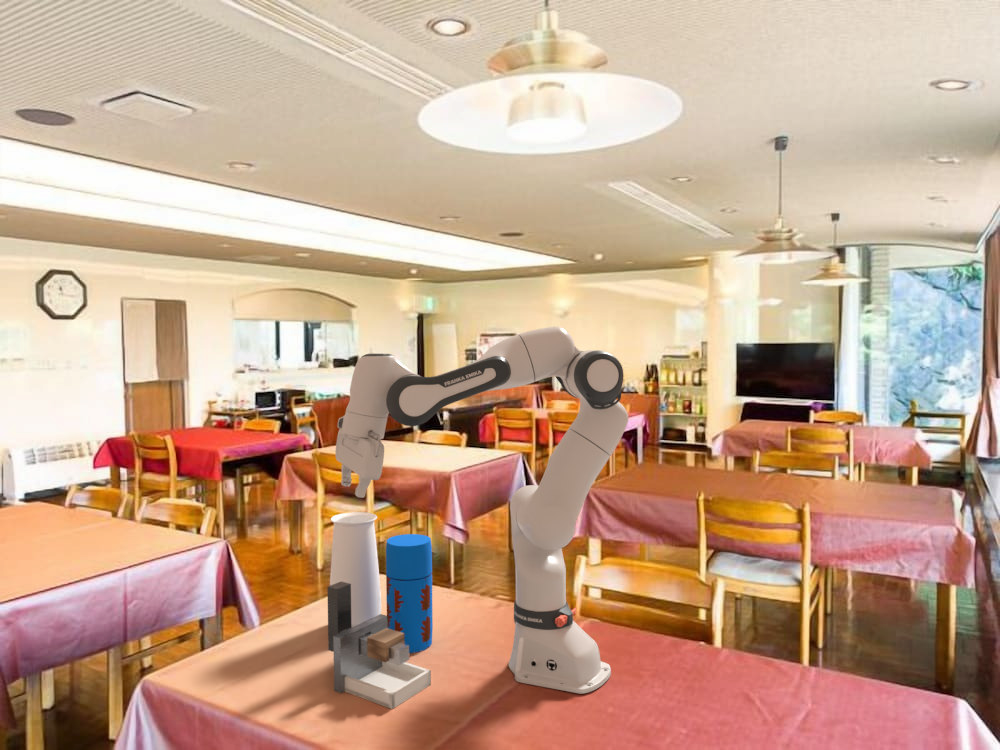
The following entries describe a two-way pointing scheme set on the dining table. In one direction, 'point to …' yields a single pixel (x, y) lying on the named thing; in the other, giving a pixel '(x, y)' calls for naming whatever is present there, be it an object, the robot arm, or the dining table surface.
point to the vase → (357, 563)
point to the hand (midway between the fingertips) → (352, 491)
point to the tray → (390, 684)
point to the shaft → (342, 621)
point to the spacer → (383, 643)
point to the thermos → (410, 589)
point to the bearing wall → (355, 652)
